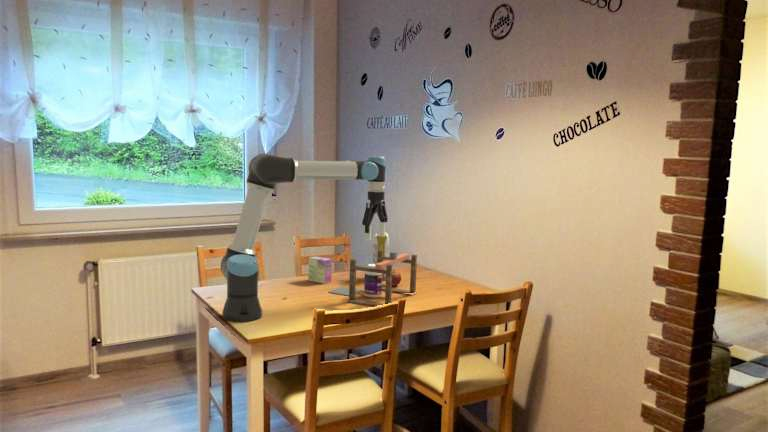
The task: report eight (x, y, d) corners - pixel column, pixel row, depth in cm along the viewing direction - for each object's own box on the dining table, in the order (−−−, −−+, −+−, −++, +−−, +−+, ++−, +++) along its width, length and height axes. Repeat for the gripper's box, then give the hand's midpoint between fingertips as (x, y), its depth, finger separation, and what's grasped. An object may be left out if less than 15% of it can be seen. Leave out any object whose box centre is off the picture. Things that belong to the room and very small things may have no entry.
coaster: (351, 296, 262) (351, 295, 262) (328, 292, 267) (328, 291, 267) (363, 290, 272) (363, 289, 272) (341, 287, 278) (341, 286, 278)
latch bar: (381, 269, 244) (381, 258, 243) (375, 268, 245) (375, 257, 244) (409, 258, 270) (409, 247, 269) (403, 257, 271) (404, 247, 270)
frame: (388, 309, 244) (389, 265, 241) (347, 302, 252) (348, 260, 250) (416, 293, 270) (417, 254, 268) (379, 287, 279) (380, 250, 277)
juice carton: (387, 280, 294) (389, 234, 291) (372, 280, 294) (373, 233, 291) (387, 276, 303) (389, 231, 300) (372, 276, 303) (374, 230, 300)
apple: (392, 282, 290) (393, 267, 289) (404, 285, 284) (404, 269, 283) (381, 285, 284) (381, 269, 283) (392, 288, 279) (393, 272, 278)
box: (331, 282, 287) (332, 258, 286) (324, 284, 283) (324, 260, 281) (315, 278, 293) (315, 255, 291) (308, 280, 288) (308, 257, 287)
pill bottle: (379, 299, 259) (380, 267, 257) (362, 297, 260) (363, 266, 259) (383, 294, 267) (384, 263, 265) (366, 293, 268) (367, 262, 266)
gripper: (370, 193, 245) (369, 242, 247) (395, 189, 267) (394, 235, 270) (355, 192, 248) (353, 241, 251) (381, 188, 270) (379, 233, 273)
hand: (374, 238), depth 260 cm, fingers open, 13 cm apart
